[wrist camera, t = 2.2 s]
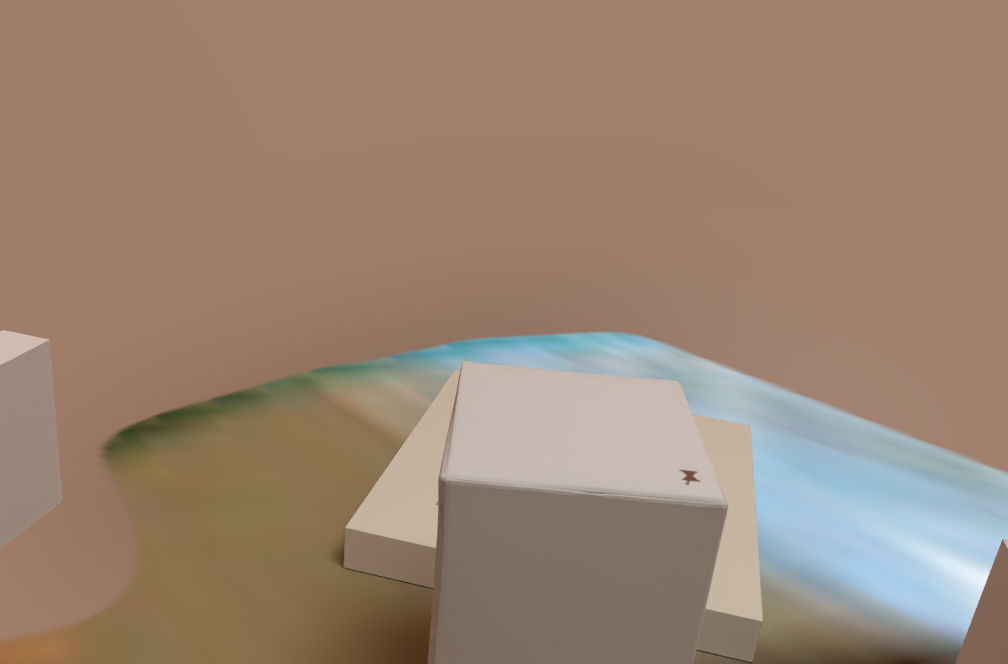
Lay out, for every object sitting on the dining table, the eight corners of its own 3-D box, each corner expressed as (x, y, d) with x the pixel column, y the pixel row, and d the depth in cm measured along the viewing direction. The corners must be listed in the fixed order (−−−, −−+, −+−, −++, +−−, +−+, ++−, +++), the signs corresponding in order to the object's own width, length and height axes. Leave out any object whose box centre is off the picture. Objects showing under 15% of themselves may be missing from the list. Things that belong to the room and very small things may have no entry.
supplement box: (628, 682, 34) (688, 377, 29) (653, 864, 27) (737, 504, 22) (432, 662, 34) (460, 353, 29) (406, 840, 27) (438, 473, 22)
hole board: (743, 456, 51) (750, 425, 50) (752, 662, 36) (762, 621, 35) (452, 400, 54) (455, 369, 53) (343, 567, 38) (345, 527, 38)
